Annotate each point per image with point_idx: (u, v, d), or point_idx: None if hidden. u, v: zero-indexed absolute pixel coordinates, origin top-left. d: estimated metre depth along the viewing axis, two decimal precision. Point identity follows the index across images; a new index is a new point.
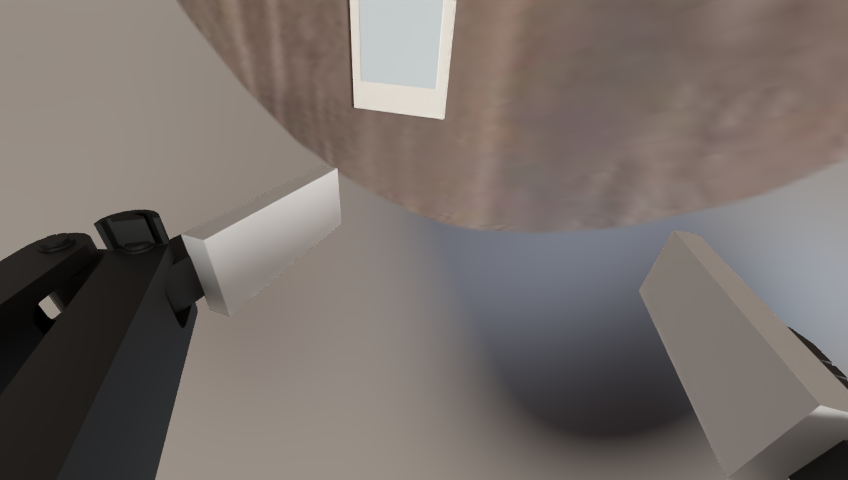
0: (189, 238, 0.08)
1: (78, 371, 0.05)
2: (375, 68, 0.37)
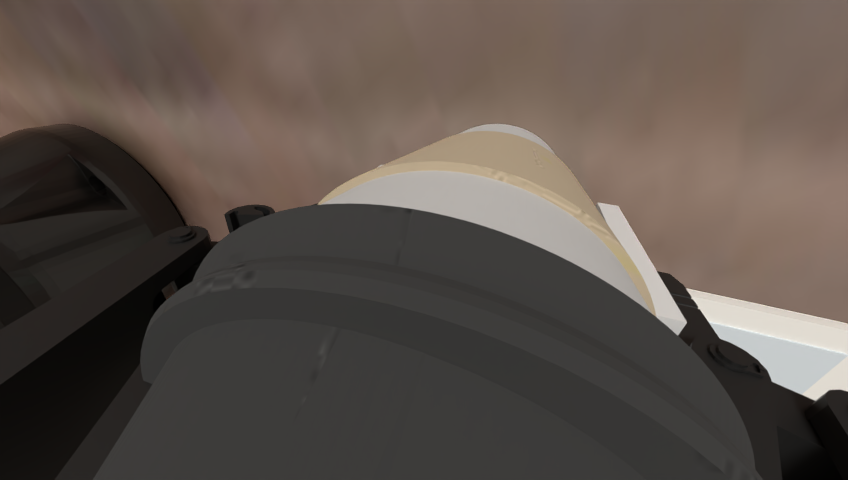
0: None
1: None
2: None
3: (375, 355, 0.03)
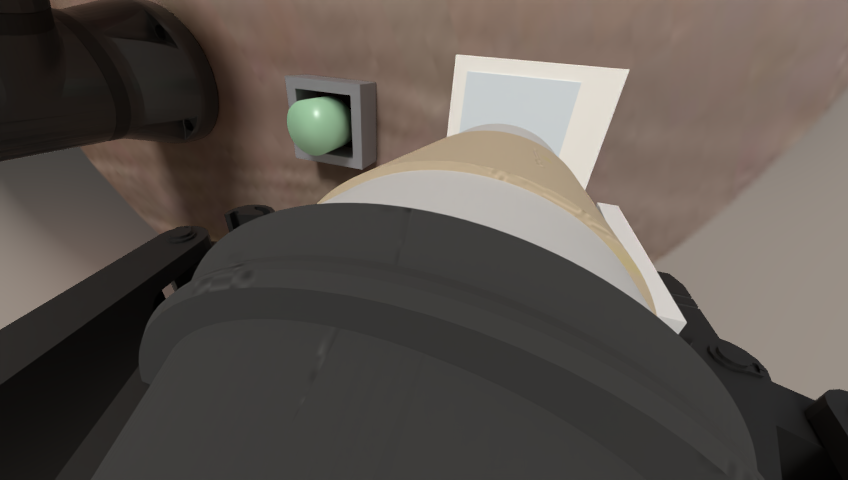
0: None
1: None
2: None
3: (375, 355, 0.03)
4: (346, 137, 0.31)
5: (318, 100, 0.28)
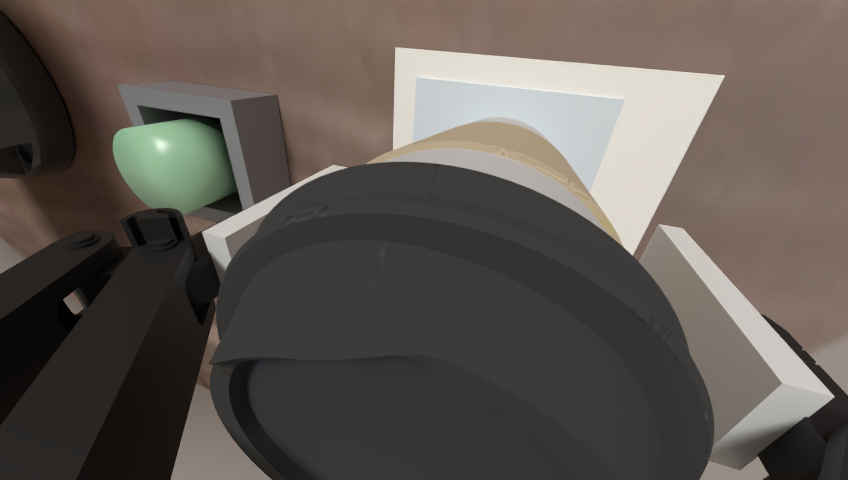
0: (210, 236, 0.08)
1: (102, 366, 0.05)
2: None
3: (418, 256, 0.04)
4: (228, 184, 0.19)
5: (160, 127, 0.16)
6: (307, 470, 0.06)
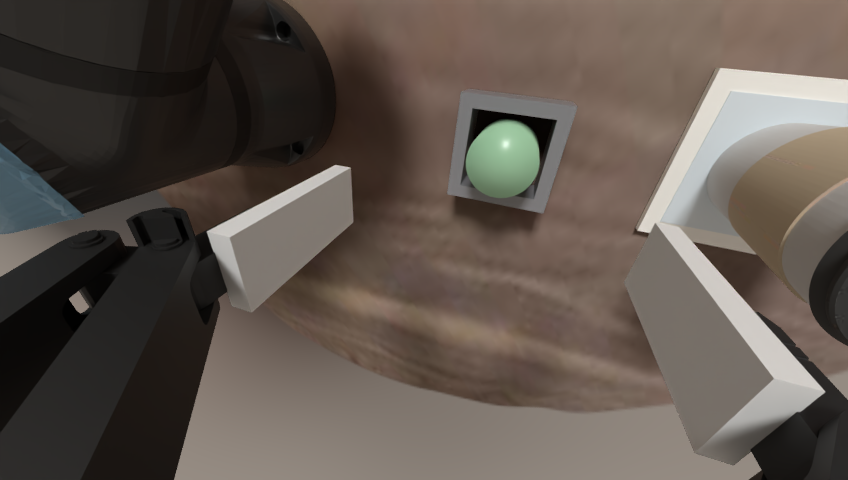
0: (215, 235, 0.08)
1: (107, 365, 0.05)
2: None
3: None
4: None
5: (517, 126, 0.21)
6: None
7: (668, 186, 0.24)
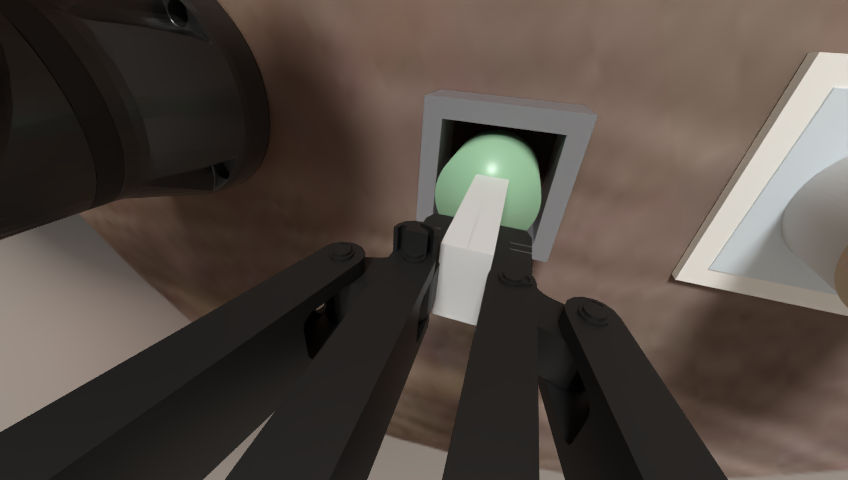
0: (450, 247, 0.09)
1: (352, 378, 0.05)
2: None
3: None
4: None
5: (507, 144, 0.14)
6: None
7: (723, 223, 0.17)
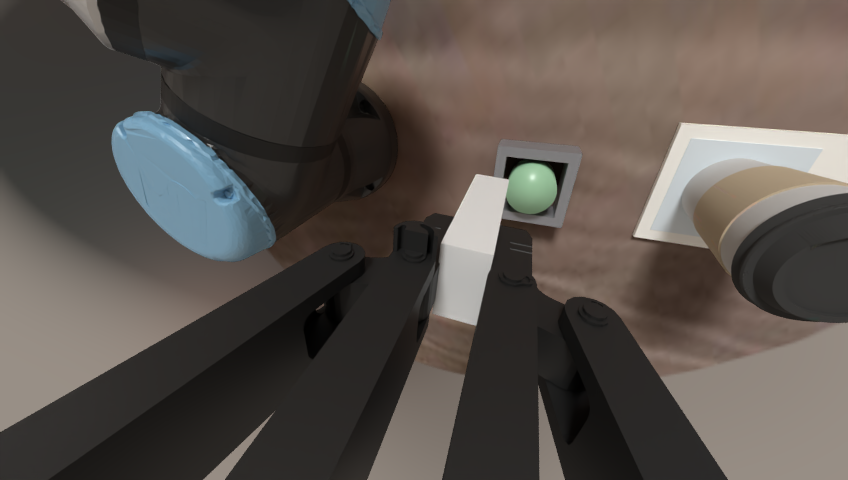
0: (449, 247, 0.09)
1: (352, 378, 0.05)
2: None
3: None
4: None
5: (540, 166, 0.31)
6: (787, 293, 0.19)
7: (653, 204, 0.32)
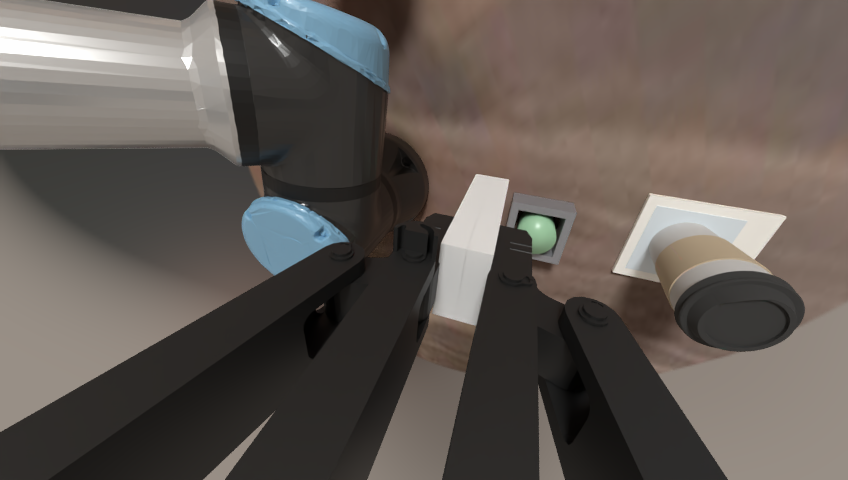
0: (450, 247, 0.09)
1: (352, 378, 0.05)
2: None
3: (764, 287, 0.27)
4: None
5: (544, 219, 0.41)
6: (707, 331, 0.29)
7: (628, 249, 0.42)
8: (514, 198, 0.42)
